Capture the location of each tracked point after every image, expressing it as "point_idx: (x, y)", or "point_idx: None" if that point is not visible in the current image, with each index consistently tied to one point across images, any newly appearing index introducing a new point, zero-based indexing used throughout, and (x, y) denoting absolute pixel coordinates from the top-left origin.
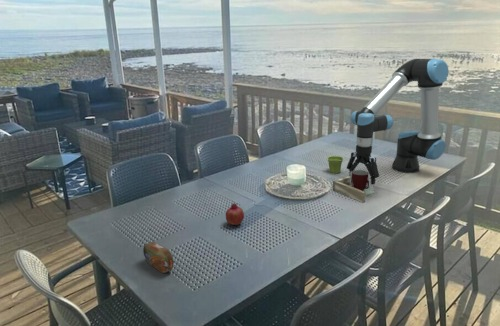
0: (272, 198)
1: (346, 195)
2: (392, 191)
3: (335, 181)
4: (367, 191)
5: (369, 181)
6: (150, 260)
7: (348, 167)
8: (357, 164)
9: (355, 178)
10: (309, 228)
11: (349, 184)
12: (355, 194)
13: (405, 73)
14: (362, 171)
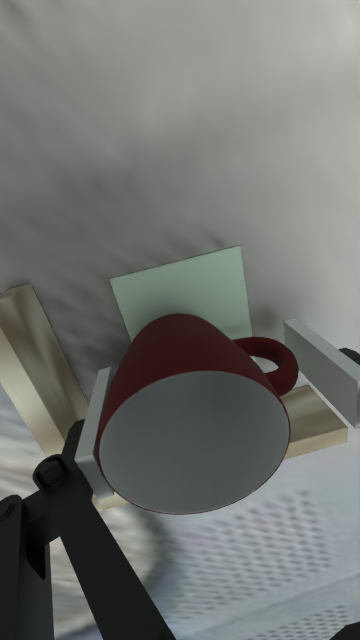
0: (101, 636)
1: None
2: (294, 93)
3: (95, 505)
4: (208, 297)
5: (334, 401)
6: None
7: (47, 554)
8: (136, 576)
9: (214, 467)
10: (342, 588)
11: (57, 353)
12: None
13: None
14: (136, 384)
